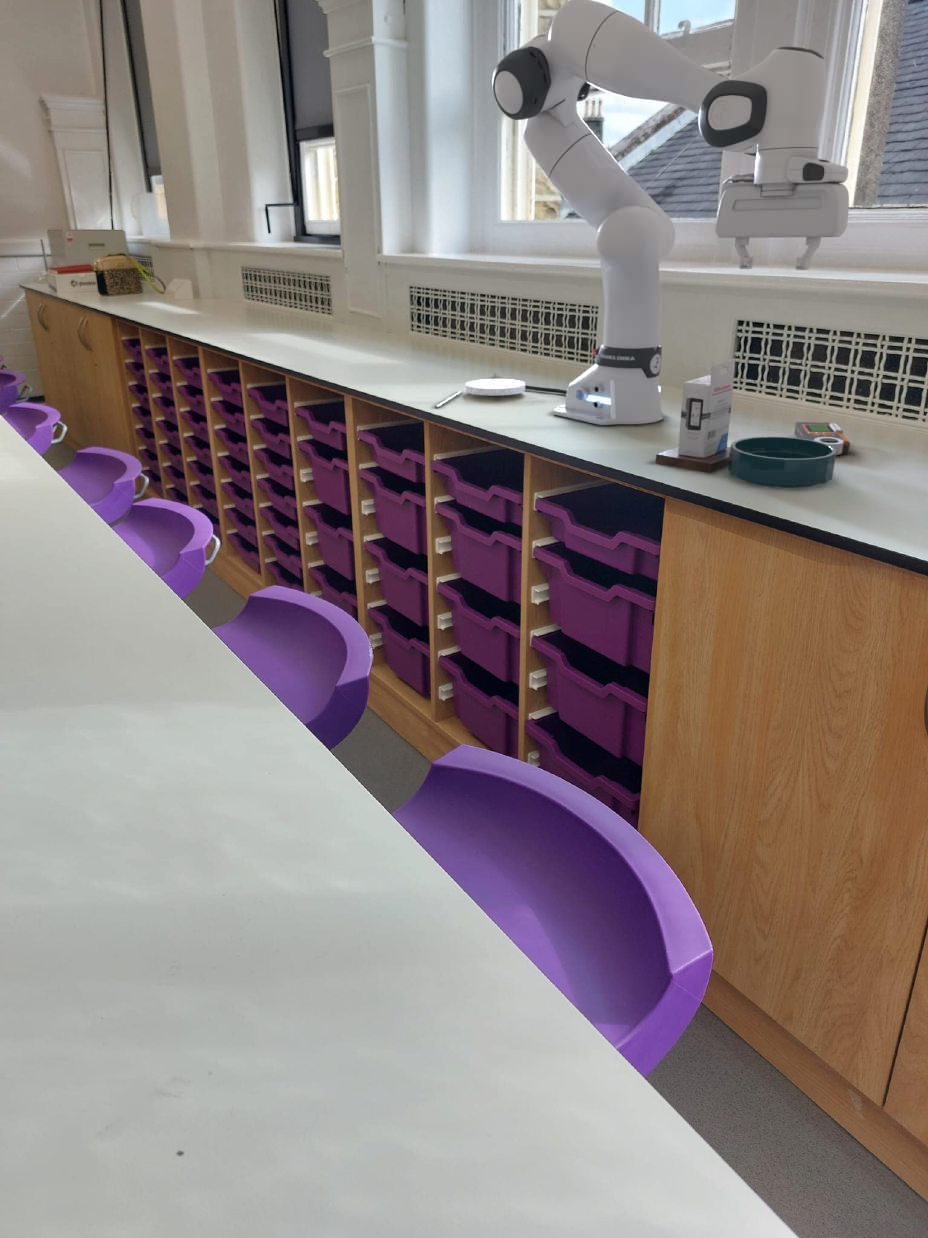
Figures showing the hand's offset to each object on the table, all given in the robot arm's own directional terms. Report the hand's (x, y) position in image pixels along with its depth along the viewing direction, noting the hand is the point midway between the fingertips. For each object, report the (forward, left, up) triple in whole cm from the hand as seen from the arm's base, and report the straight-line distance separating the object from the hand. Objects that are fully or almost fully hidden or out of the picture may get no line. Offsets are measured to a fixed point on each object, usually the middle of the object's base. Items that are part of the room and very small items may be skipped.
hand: (773, 269), depth 139 cm
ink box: (-3, -12, -28) cm, 30 cm away
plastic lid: (-71, +14, -29) cm, 78 cm away
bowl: (+11, -13, -29) cm, 34 cm away
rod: (-75, +2, -30) cm, 80 cm away
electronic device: (+8, +10, -29) cm, 32 cm away
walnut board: (-3, -12, -29) cm, 32 cm away
